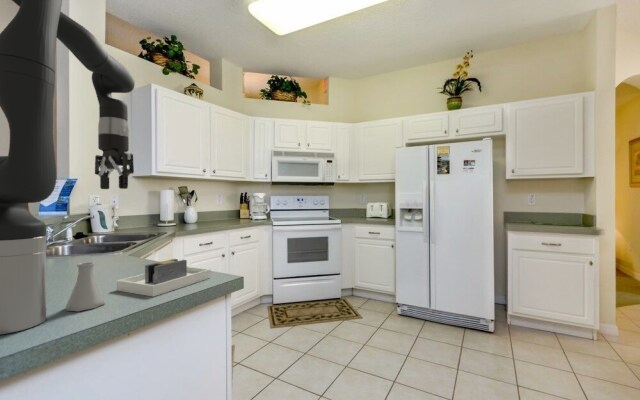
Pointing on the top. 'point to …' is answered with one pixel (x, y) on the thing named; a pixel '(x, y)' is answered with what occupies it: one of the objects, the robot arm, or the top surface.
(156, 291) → the tray
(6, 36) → the robot arm
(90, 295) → the flask
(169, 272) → the block
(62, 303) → the top surface
